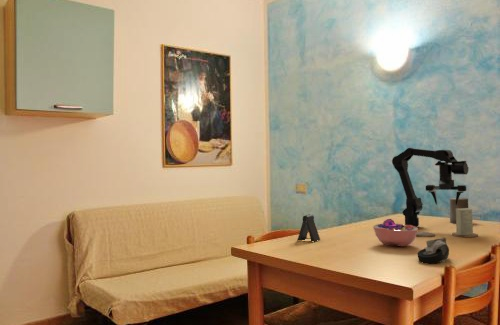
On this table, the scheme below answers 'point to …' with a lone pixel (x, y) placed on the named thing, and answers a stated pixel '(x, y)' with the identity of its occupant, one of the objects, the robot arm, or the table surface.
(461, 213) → the skincare box
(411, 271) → the table surface
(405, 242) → the cell model
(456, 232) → the walnut coaster
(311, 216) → the black folding stand
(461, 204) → the pillar candle
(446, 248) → the caster wheel
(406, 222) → the robot arm
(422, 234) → the coaster
